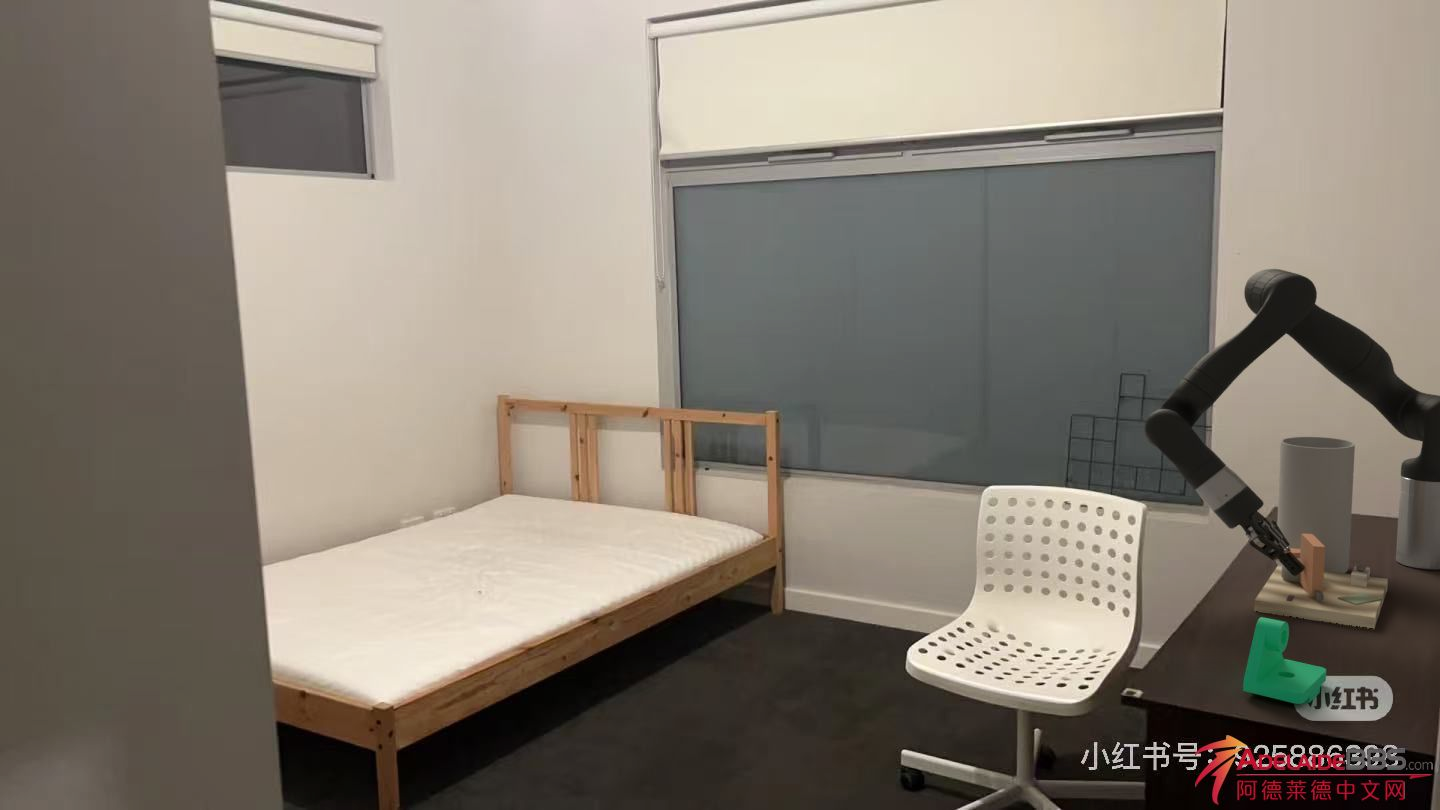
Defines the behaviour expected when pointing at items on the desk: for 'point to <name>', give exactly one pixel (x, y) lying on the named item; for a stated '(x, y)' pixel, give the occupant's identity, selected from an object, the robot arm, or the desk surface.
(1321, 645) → the desk surface
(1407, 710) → the desk surface
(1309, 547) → the orange grey panel fixture
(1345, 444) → the cylinder vase
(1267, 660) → the camera mount
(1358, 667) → the desk surface
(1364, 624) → the level stand
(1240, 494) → the robot arm
